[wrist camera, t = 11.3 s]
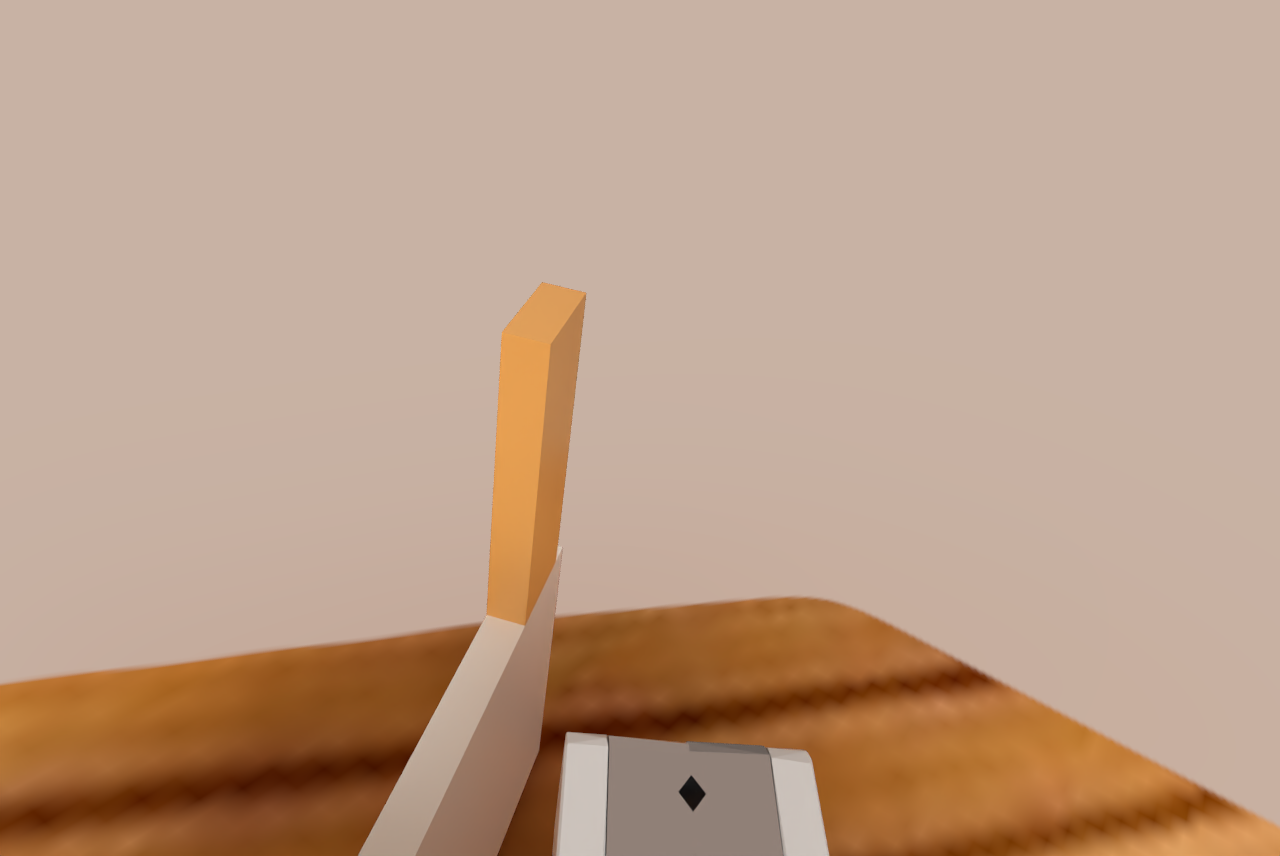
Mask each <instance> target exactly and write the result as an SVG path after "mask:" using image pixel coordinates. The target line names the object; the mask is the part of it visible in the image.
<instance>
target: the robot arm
mask: <svg viewBox="0 0 1280 856" xmlns="http://www.w3.org/2000/svg"><path fill="white" fill-rule="evenodd" d="M552 856H829V851H828V846H827V840H826V835H825V829H824V824H823V818H822V813H821V807H820V802H819V796H818V791H817V785H816V780H815V774H814V769H813V763H812V759H811V757H810V756H809V754H808V752H807V751H805V750H803V749H786V748H768V747H764V746H758V745H741V744H724V743H707V742H690V741H687V742H686V743H685V742H676V741H665V740H654V739H642V738H631V737H620V736H607V735H602V734H589V733H575V732H567V733H566V736H565V744H564V752H563V759H562V767H561V775H560V783H559V791H558V800H557V809H556V818H555V827H554V840H553V852H552Z"/></svg>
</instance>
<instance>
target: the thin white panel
mask: <svg viewBox="0 0 1280 856" xmlns="http://www.w3.org/2000/svg"><path fill="white" fill-rule="evenodd" d="M585 300H586V293H585V292H581V291H576V290H572V289H568V288H564V287H560V286H556V285H552V284H547V283H543V282H542V283H541V284H540V286H539V287H538V288H537V289H536V291H535V292H534V293H533V294H532V296H531V297H530V298H529V300H528V301H527V302H526V303H525V304H524V305H523V307H522V308H521V309H520V310H519V312H518V313H517V314H516V315H515V317H514V318H513V319H512V320H511V322H510V323H509V324H508V325H507V327H506V328H505V329H504V331H503V332H502V340H501V341H502V342H501V359H500V377H499V396H498V415H497V433H496V451H495V470H494V471H495V472H494V488H493V508H492V526H491V545H490V562H489V581H488V599H487V615H486V617H485V619H484V621H483V623H482V624H481V626H480V628H479V630H478V632H477V634H476V636H475V638H474V639H473V641H472V643H471V645H470V647H469V649H468V651H467V652H466V654H465V656H464V658H463V660H462V662H461V664H460V666H459V667H458V669H457V671H456V673H455V675H454V677H453V679H452V681H451V682H450V684H449V686H448V688H447V690H446V692H445V694H444V696H443V697H442V699H441V701H440V703H439V705H438V707H437V709H436V710H435V712H434V714H433V716H432V718H431V720H430V722H429V724H428V725H427V727H426V729H425V731H424V733H423V735H422V737H421V739H420V740H419V742H418V744H417V746H416V748H415V750H414V752H413V754H412V755H411V757H410V759H409V761H408V763H407V765H406V767H405V768H404V770H403V772H402V774H401V776H400V778H399V780H398V782H397V783H396V785H395V787H394V789H393V791H392V793H391V795H390V797H389V798H388V800H387V802H386V804H385V806H384V808H383V810H382V812H381V813H380V815H379V817H378V819H377V821H376V823H375V825H374V827H373V828H372V830H371V832H370V834H369V836H368V838H367V840H366V841H365V843H364V845H363V847H362V849H361V851H360V853H359V855H358V856H497V855H498V852H499V850H500V847H501V844H502V842H503V839H504V837H505V834H506V832H507V829H508V827H509V824H510V822H511V819H512V817H513V814H514V812H515V809H516V807H517V804H518V802H519V799H520V797H521V794H522V792H523V789H524V787H525V784H526V782H527V779H528V777H529V774H530V772H531V769H532V767H533V764H534V762H535V759H536V757H537V754H538V752H539V746H540V737H541V729H542V720H543V712H544V703H545V695H546V686H547V678H548V670H549V661H550V653H551V644H552V636H553V627H554V619H555V610H556V602H557V593H558V584H559V576H560V567H561V559H562V550H563V547H561V546H558V539H559V530H560V521H561V512H562V504H563V494H564V486H565V477H566V468H567V459H568V451H569V442H570V432H571V424H572V415H573V406H574V398H575V388H576V379H577V371H578V362H579V352H580V343H581V335H582V327H583V318H584V309H585Z"/></svg>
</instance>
